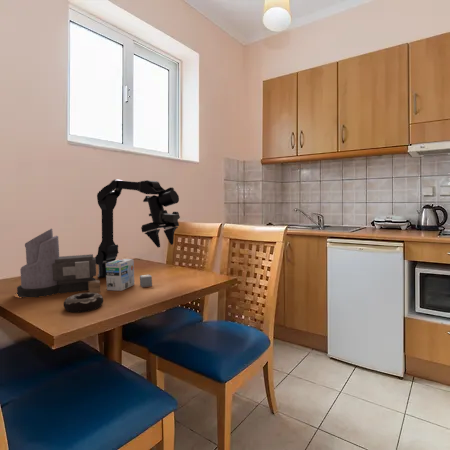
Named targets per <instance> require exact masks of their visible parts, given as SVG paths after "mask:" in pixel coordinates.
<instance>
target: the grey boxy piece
mask: <svg viewBox="0 0 450 450" xmlns="http://www.w3.org/2000/svg"><path fill="white" fill-rule="evenodd" d="M53 235H54V233H53V228H50V229H48V230H45V231H44V232H43V233H41V234H39V235H37V236H35V237H33V238H32V239H30V240H28V241H26V242H25V243H24V247H25V259H26V261H25V262H26V264H24V265H22V266H21V267H20V285H18V286H17V287H16V291H17V292H16V293H17V294H18V296H19V297H35V298H40V297H39V296H44V297H48V296H47V295H49V296H53V295H52V294H54V295H58V294H57V293H60V294H67V292H69V293H76V292H77V293H78V291H79V292H86V291H87V292H89V288H88V281H95V280H97V279H96V278H95V277H96V276H97V265H96V258H95V257H96V256H94V255H93V254H92V253H91V254H80V255H79V254H78V255H65V256H60V246H59V245H60V244H59V236H58V235H54V236H53Z"/></svg>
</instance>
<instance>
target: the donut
mask: <svg viewBox="0 0 450 450" xmlns="http://www.w3.org/2000/svg"><path fill="white" fill-rule="evenodd" d="M103 303H104V298H103V295H102V294H100V293H93V292H89V291H87V292H79V293H76V294H72V295H70V296H68V297H67V298H66V299H64V301H63V307H64V309H65V310H66V311H67V312H69V311H70V313H85V312H91V311H95V310H96V309H99V307H102V304H103Z"/></svg>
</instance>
